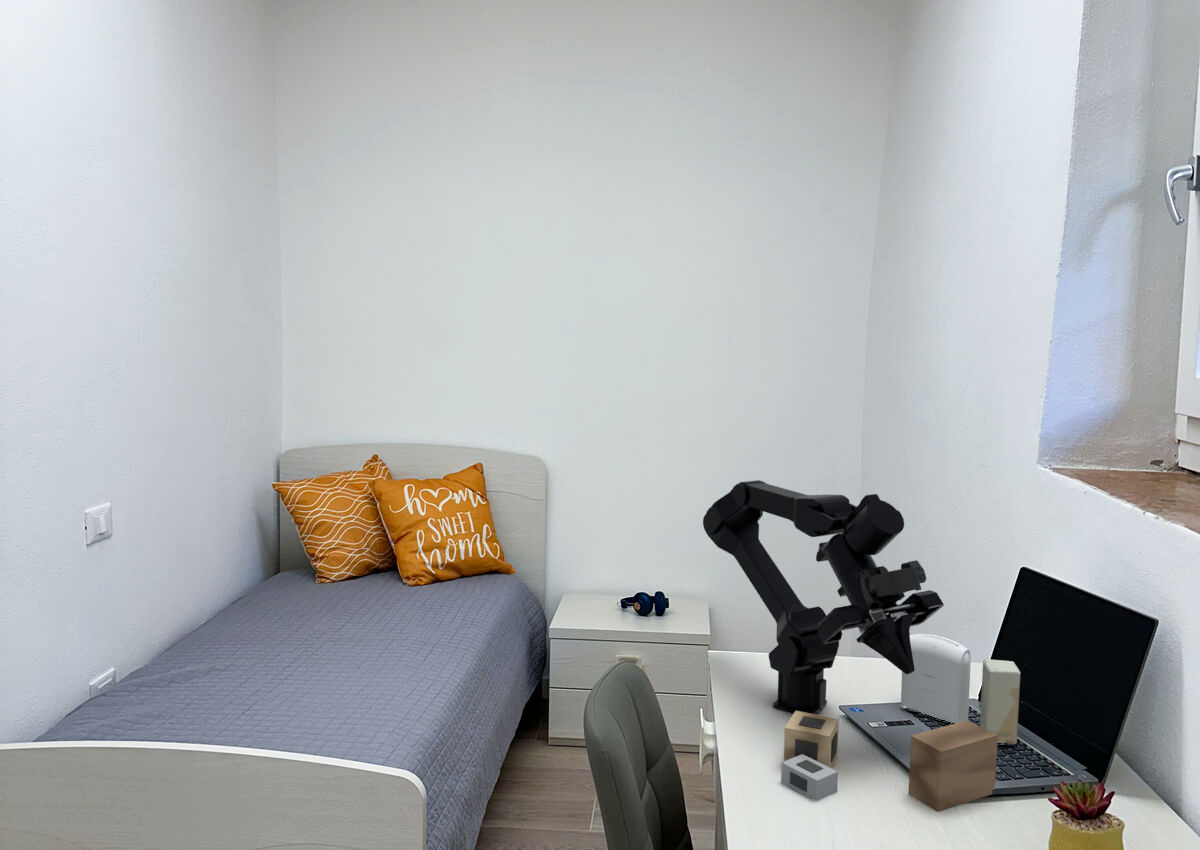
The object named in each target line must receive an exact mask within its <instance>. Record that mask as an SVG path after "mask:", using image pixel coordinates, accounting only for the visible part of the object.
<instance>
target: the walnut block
mask: <svg viewBox="0 0 1200 850" xmlns="http://www.w3.org/2000/svg"><path fill="white" fill-rule="evenodd" d="M997 743H998V735H997V734H995V733H992V732H990V731H988V730H986V729H984V728H982V727H980V725H978V724H976V723H974V722H971V721H969V719H968V720H966V721H962V722H959V723H955V724H952V723H951V724H949V725H945V726H941V727H938V728H935V729H930V730H926V731H924V732H923V731H922V732H919V733H915V734H911V736H910V751H909V752H910V754H909V773H908V774H909V775H908V793H907V794H908V796H909V795H910V796H911V797H913V798H914V799H916V800H918V801H919V802H921V803H923V804H924V805H926V806H928V807H929V808H931V809H932V810H934V811H935V812H937V813H939V812H943V811H945V810H946V811H947V810H948V809H951V808H955V807H957V806H962V805H963V804H966V803H969V802H973V801H976V800H980V799H982V798H984V797H988V796H992V795H994V794H993V793H992V790H994V789H996V775H997V774H996V771H997V755H998V745H997Z"/></svg>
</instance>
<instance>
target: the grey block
mask: <svg viewBox="0 0 1200 850" xmlns="http://www.w3.org/2000/svg"><path fill="white" fill-rule="evenodd" d="M780 774H781V777H780V779H781V780H780V782H781V783H782V784H784V785H785V786H787V787H789V788H791V789H792V790H794V791H796V792H798V793H801V794H802V795H804V796H806V797H808V798H809V799H811V800H813V801H815V802H817V801H820V800H822V799H823V798H826V797H828V796H831V795H833V794H836V793H837V792H838V777H839V776H838V775H839V771H837V770H835V769H834V768H833V769H832V768H830V767H828V766H825V765H823V764H821V763H819V762H817V761H815V760H813V759H811V758H809V757H807V756H805V755H803V754H801V755H799V756H796V757H794V758H791V759H789V760H786V761H784V760H783V761H781V773H780Z"/></svg>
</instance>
